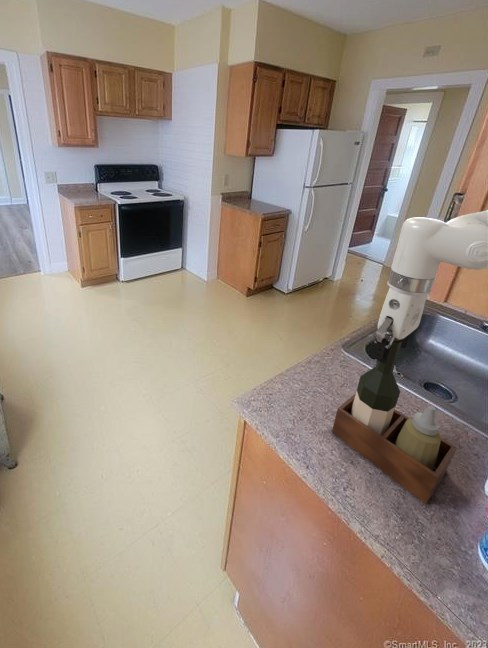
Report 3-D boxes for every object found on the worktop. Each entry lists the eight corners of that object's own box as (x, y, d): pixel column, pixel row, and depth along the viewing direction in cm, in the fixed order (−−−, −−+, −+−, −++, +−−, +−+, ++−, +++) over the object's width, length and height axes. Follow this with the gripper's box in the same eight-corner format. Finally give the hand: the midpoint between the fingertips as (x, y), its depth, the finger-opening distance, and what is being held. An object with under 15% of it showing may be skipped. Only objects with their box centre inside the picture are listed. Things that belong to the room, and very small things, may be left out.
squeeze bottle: (438, 486, 69) (466, 424, 62) (400, 485, 69) (424, 423, 62) (415, 452, 76) (438, 393, 70) (381, 451, 76) (401, 392, 70)
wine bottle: (390, 448, 77) (426, 345, 66) (359, 453, 76) (390, 348, 64) (368, 420, 85) (397, 323, 73) (339, 424, 83) (364, 325, 72)
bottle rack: (445, 472, 72) (457, 447, 69) (426, 504, 65) (437, 477, 62) (354, 411, 87) (360, 388, 84) (331, 432, 81) (337, 408, 78)
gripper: (412, 299, 56) (388, 378, 63) (447, 276, 66) (423, 346, 73) (369, 284, 62) (351, 358, 68) (408, 265, 72) (389, 331, 78)
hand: (388, 352), depth 70 cm, fingers open, 8 cm apart
